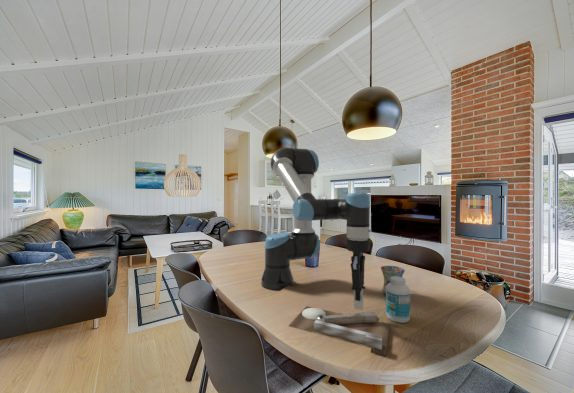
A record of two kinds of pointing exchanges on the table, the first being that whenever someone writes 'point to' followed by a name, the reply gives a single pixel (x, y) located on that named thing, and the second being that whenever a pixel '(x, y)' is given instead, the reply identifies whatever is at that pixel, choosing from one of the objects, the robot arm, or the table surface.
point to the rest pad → (312, 313)
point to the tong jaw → (349, 318)
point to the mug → (390, 274)
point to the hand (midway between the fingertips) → (358, 308)
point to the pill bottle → (398, 300)
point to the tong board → (356, 326)
